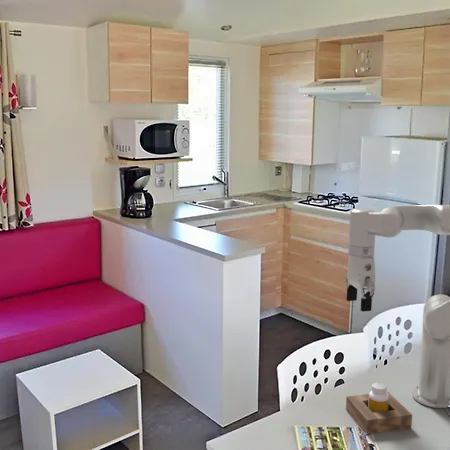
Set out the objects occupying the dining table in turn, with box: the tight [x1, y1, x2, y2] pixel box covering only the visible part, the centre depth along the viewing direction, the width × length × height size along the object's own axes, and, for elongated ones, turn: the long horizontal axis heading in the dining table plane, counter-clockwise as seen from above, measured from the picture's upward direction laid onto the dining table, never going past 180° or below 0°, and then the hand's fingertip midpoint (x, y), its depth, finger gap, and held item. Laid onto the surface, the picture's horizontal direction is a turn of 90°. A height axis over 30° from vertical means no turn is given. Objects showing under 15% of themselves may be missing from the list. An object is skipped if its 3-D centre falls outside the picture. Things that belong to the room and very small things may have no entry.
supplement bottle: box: [368, 382, 389, 413], centre depth 154 cm, size 5×5×10 cm
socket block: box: [345, 391, 413, 435], centre depth 154 cm, size 13×13×4 cm
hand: (358, 305), depth 168 cm, fingers open, 9 cm apart
